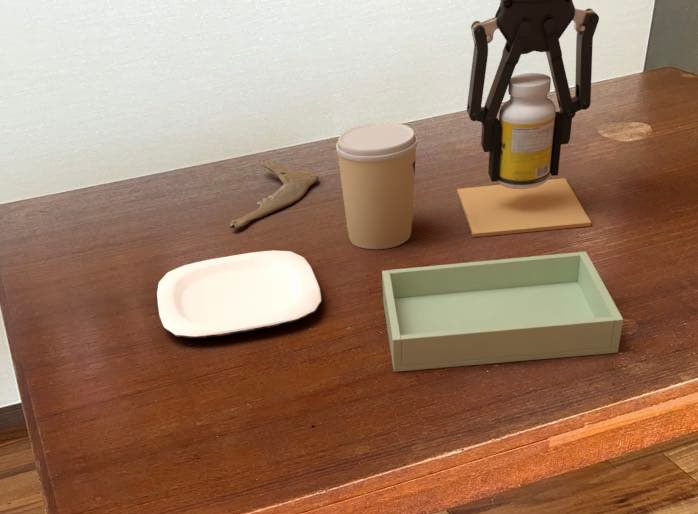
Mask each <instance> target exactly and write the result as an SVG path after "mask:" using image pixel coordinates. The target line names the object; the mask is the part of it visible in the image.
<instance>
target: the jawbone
mask: <svg viewBox="0 0 698 514" xmlns="http://www.w3.org/2000/svg"><path fill="white" fill-rule="evenodd" d="M260 166H262V167H264V168H265V169H267V170H268V171H270V172H271V173H272V174H274V175H275V176H276V177H277V178H278V179H279V180H280V182H281V183H282V185H281V186H280V187H279V188H278V189H277V190H276V191H275V192H273V194H272V195H268V197H263V198H262V200H260V201H257V202H256V205H257V206H259V207H258V208H257V209H256V210H254V211H251V212H250V213H248V214H245V215H243V216H240V217H239V218H236V219H231V221H230V222H229V228H231V229H233V230H236V229H239V228H245V227H246V226H247V225H248V224H249V223H251V222H252V221H254V220H258V219H261V218H263V217H265V216H267V215H269V214H272V213H274V212H277V211H279V210H282V209H284V208H286V207H288V206H290V205H293V204H294V203H297V202H298V201H300V199H302V197H304V196H305V194H306V193H307V192H308V189H310V187H311V186H312V185H313V184H315V183H316V182H318V181H319V175H318V174H316V173H314V172H311V171H308V170H293V169H289V168H286V167H284V166H283V165H282V164H281V163H279V162H278V163H277V165H275V164H274V163H271V162H270V161H266V160H265V159H262V160H261V161H260Z"/></svg>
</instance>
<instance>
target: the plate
mask: <svg viewBox="0 0 698 514" xmlns="http://www.w3.org/2000/svg"><path fill="white" fill-rule="evenodd" d="M156 298H157V299H156V301H157V309H158V315H159V320H160V321H161V324H162V326H163V329H164V330H165V331H167V332H169V333H170V334H172V335H173V336H175V337H177V338H186V339H187V338H189V339H205V338H215V337H223V336H230V335H237V334H240V333H248V332H252V331H258V330H263V329H270V328H274V327H278V326H282V325H287V324H290V323H296V322H298V321H300V320H303V319H304V318H306V317H308V316H310V315H313V314H315V312H316V311H317V310H318V307H319V306H320V305H321V303H322V293H321V288H320V285H319V282H318V279H317V277H316V274H315V273H314V270H313V268H312V266H311V264H309V262H308V261H307V259H306V258H305V257H304V256H302V255H299V254H297V253H295V252H294V251H291V250H275V249H273V250H262V251H255V252H254V251H253V252H247V253H241V254H233V255H229V256H222V257H216V258H210V259H205V260H201V261H196V262H192V263H188V264H183V265H182V266H179V267H176V268H174V269H172V270H170V271H168V272H167V273H165V275H163V276H162V278H161V279H160V280H159V281H158V285H157V291H156Z"/></svg>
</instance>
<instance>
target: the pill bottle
mask: <svg viewBox="0 0 698 514" xmlns="http://www.w3.org/2000/svg"><path fill="white" fill-rule="evenodd" d="M551 80H552V77H551V76H549V74H548V75H547V74H545V73H538V72H537V73H536V72H532V73H531V72H528V73H521V74H516V75H514V76H512V77H511V79H510V82H509V85H508V88H507V91H508V95H509V99H508V100H506V101H505V102H503V104H501V106H500V109H499V112H498V120H499V122H500V124H501V139H500V156H499V174H498V181H497V182H498V185H502V186H504V187H507V188H512V189H529V188H534V187H537V186H540V185H542V184H544V183H545V182H546V181H547V180H549V178H550V176H551V174H550V165H551V154H552V144H553V134H554V124H555V114H556V112H557V108H556V105H555V103H554V101H553V100H551V98H549V97H548V94H549V93H550V92H551V84H552V83H551V82H552V81H551Z"/></svg>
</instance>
